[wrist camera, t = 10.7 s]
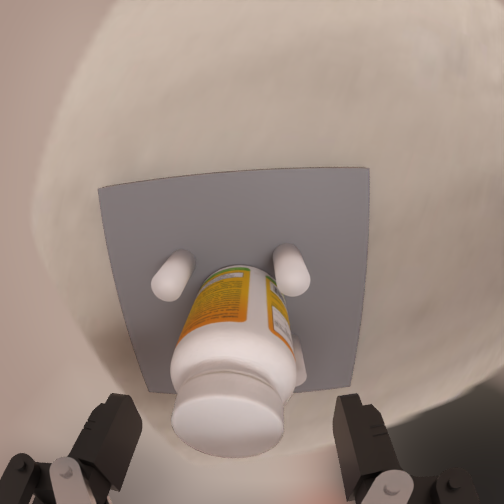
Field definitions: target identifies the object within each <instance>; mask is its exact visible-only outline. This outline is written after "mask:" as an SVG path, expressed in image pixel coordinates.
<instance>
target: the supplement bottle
mask: <svg viewBox="0 0 504 504" xmlns="http://www.w3.org/2000/svg"><path fill="white" fill-rule="evenodd" d="M170 373H171V379H172V383H173V386H174V389H175V390H176V392H177V396H176V400H175V404H174V408H173V412H172V415H171V424H172V427H173V430H174V432H175V433H176V435H177V436H178V437H179V438H180V439H181V440H182V441H183V442H184V443H186V444H187V445H189V446H190V447H192V448H194V449H196V450H198V451H200V452H203V453H206V454H209V455H213V456H218V457H223V458H245V457H251V456H256V455H259V454H262V453H264V452H267V451H269V450H270V449H272V448H273V447H274V446H276V445H277V444H278V443H279V441H280V440H281V438H282V436H283V433H284V406H285V404H286V403H287V402H288V401H289V399H290V398H291V396H292V394H293V392H294V389H295V386H296V377H297V372H296V362H295V355H294V349H293V343H292V337H291V331H290V324H289V318H288V312H287V306H286V301H285V298H284V294H282V293H281V292H280V291H279V289H278V287H277V284H276V280H275V279H274V278H273V277H271V276H270V275H269V274H268V273H266V272H264V271H262V270H260V269H258V268H255V267H251V266H245V265H235V266H229V267H225V268H222V269H220V270H218V271H216V272H214V273H213V274H212V275H210V276H209V277H208V278H207V279H206V281H205V282H204V283H203V285H202V286H201V288H200V290H199V292H198V294H197V297H196V299H195V301H194V304H193V306H192V309H191V311H190V313H189V316H188V318H187V320H186V323H185V325H184V327H183V330H182V332H181V335H180V337H179V340H178V342H177V345H176V347H175V350H174V353H173V357H172V360H171V366H170Z"/></svg>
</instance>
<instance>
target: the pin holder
mask: <svg viewBox="0 0 504 504" xmlns="http://www.w3.org/2000/svg"><path fill="white" fill-rule="evenodd" d="M98 194H99V202H100V209H101V215H102V221H103V227H104V233H105V239H106V244H107V249H108V254H109V259H110V263H111V268H112V272H113V277H114V281H115V285H116V289H117V293H118V297H119V301H120V305H121V308H122V312H123V316H124V319H125V323H126V326H127V329H128V333H129V336H130V339H131V342H132V345H133V348H134V351H135V354H136V357H137V360H138V363H139V366H140V369H141V372H142V375H143V377H144V380H145V383H146V385H147V388H148V391H149V392H155V393H168V394H177V392H176V390H175V389H174V386H173V383H172V379H171V373H170V366H171V360H172V357H173V353H174V350H175V347H176V345H177V342H178V340H179V337H180V335H181V332H182V330H183V327H184V325H185V323H186V320H187V318H188V316H189V313H190V311H191V309H192V306H193V304H194V301H195V299H196V297H197V294H198V292H199V290H200V288H201V286H202V285H203V283H204V282H205V281H206V279H207V278H208V277H209V276H210V275H212V274H213V273H214V272H216V271H218V270H220V269H222V268H225V267H229V266H235V265H245V266H251V267H255V268H258V269H260V270H262V271H264V272H266V273H268V274H269V275H270V276H271V277H273V278H274V279H275V280H276V284H277V287H278V289H279V291H280V292H281V293H282V294H284V298H285V301H286V306H287V312H288V318H289V324H290V331H291V337H292V343H293V349H294V355H295V362H296V372H297V377H296V386H295V389H294V392H293V393H298V392H309V391H319V390H327V389H335V388H343V387H350V385H351V380H352V375H353V369H354V364H355V358H356V352H357V345H358V339H359V332H360V325H361V317H362V309H363V300H364V290H365V280H366V268H367V254H368V236H369V203H370V173H369V168H363V167H309V168H278V169H258V170H242V171H229V172H216V173H205V174H195V175H186V176H177V177H168V178H160V179H152V180H145V181H138V182H131V183H125V184H118V185H112V186H106V187H102V188H99V189H98Z"/></svg>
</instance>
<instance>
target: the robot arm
mask: <svg viewBox="0 0 504 504" xmlns="http://www.w3.org/2000/svg"><path fill="white" fill-rule="evenodd" d="M141 432H142V419H141V417H140V415H139V413H138V411H137V409H136V407H135V404H134V402H133V400H132V398H131V397H130V396H129V395H123V394H115V393H112V394H110V396H109V397H108V399H107V401H106V403H105V404H103V403H101V404H100V405H99V406H97V407H96V408H95V409H94V410H93V411H92V413H91V415H90V416H89V418H88V422H86V424H85V425H84V429H82V431H81V433H80V435H79V437H78V438H77V440H76V442H75V444H74V446H73V448H72V450H71V452H70V453H69V455H68V456H67V457H61V458H58V459H56V460H55V461H54V462H53V463H39V462H35V461H34V460H33V459H32V458H31V457H30V456H29V455H27V454H24V453H20V454H17V455H15V456H14V457H12V459H11V460H10V462H9V464H8V466H7V468H6V469H5V471H4V473H3V476H2V477H1V480H0V504H29V502H30V499H31V497H32V495H35V498H34V501H33V503H32V504H112V501H111V499H110V497H109V495H108V493H109V491H110V489H111V490H115V491H118V492H120V490H121V487H122V484H123V481H124V478H125V476H126V472H127V470H128V467H129V464H130V461H131V459H132V456H133V453H134V451H135V448H136V445H137V443H138V440H139V437H140V435H141ZM333 434H334V439H335V444H336V448H337V453H338V458H339V463H340V468H341V473H342V478H343V483H344V488H345V494H346V499H347V501H352V500H355V501H356V504H480V501H479V498H478V495H477V492H476V489H475V486H474V484H473V481H472V479H471V476H470V475H469V473H468V472H467V471H466V470H464V469H462V468H458V467H455V468H450V469H447V470H445V471H444V472H443V473H442V474H441V475H440V476H432V477H415V476H412V475H409V474H407V473H406V472H404V471H403V469H402V468H401V467H400V465H399V462H398V460H397V456H396V454H395V451H394V448H393V445H392V443H391V440H390V437H389V435H388V433H387V429H386V426H384V421H383V419H382V416H381V413H380V412H379V411H378V410H377V409H376V408H375V407H374V406H373V405H372V404H370V405H364V406H362V403H361V400H360V397H359V395H358V394H357V393H355V394H349V395H342V396H338V397H337V401H336V406H335V412H334V417H333Z"/></svg>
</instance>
